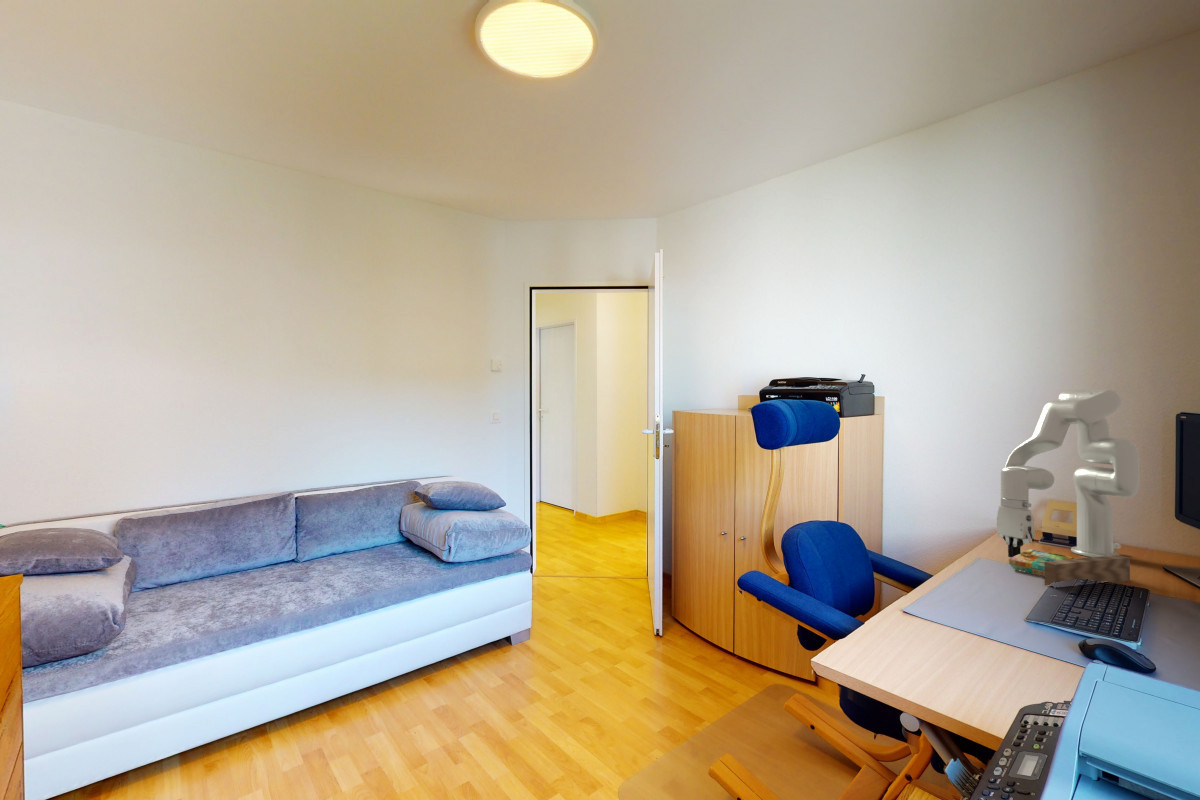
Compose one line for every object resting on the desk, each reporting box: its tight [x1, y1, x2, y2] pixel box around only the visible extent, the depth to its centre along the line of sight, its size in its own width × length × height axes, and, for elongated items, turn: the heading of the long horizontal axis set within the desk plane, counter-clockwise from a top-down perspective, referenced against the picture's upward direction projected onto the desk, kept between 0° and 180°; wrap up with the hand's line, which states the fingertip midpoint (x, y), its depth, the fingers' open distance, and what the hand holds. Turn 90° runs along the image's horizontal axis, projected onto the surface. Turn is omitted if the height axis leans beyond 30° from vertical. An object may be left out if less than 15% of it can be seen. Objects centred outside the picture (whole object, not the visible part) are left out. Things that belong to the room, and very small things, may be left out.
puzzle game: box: [1008, 548, 1075, 577], centre depth 172 cm, size 12×5×20 cm
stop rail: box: [1043, 554, 1131, 586], centre depth 159 cm, size 30×3×7 cm, turn 104°
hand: (1014, 557), depth 180 cm, fingers closed
